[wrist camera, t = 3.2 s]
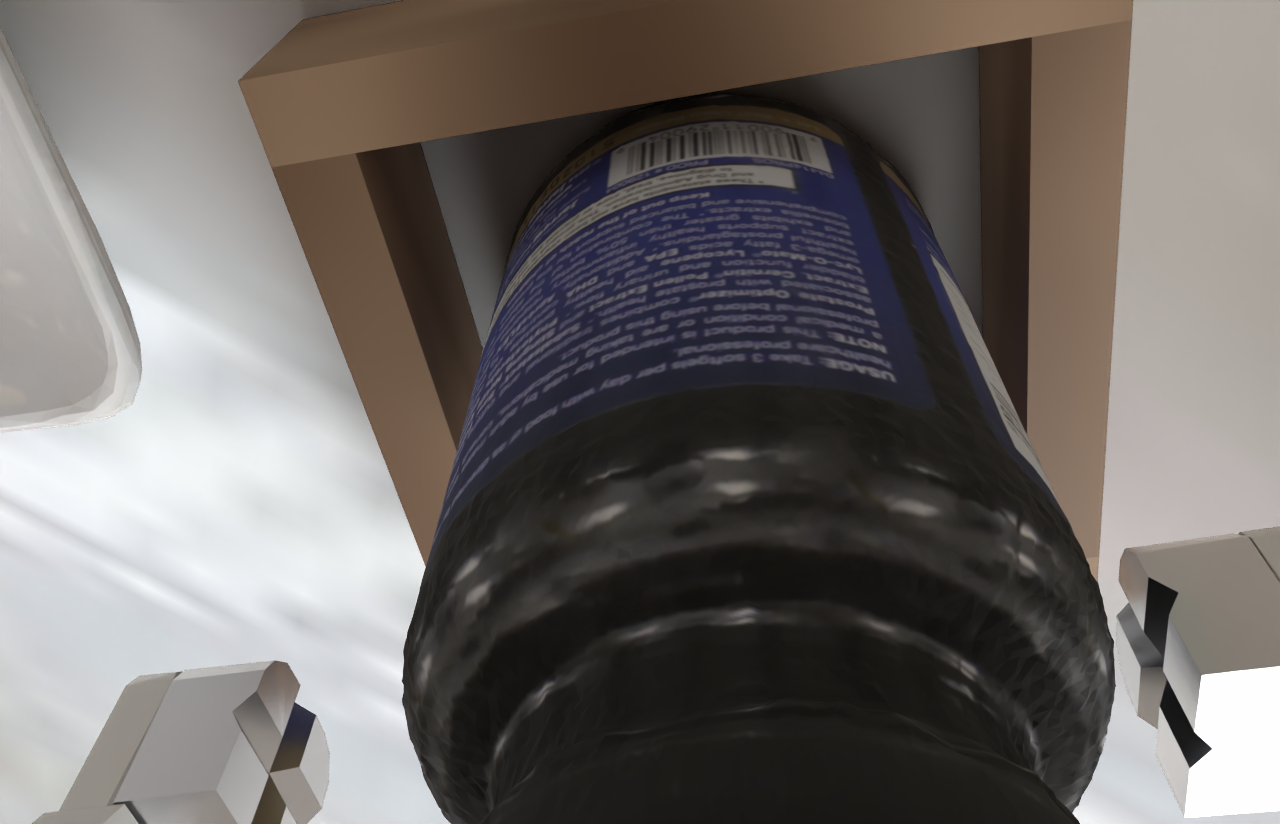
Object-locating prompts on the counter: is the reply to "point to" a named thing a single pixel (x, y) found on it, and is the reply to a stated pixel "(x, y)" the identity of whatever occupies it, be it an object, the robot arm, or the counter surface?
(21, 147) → the salad plate
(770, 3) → the walnut collar
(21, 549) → the counter surface
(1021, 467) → the pill bottle
